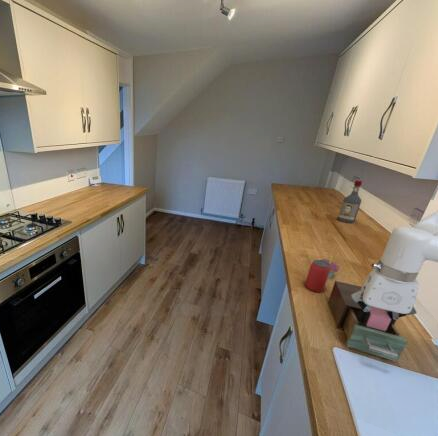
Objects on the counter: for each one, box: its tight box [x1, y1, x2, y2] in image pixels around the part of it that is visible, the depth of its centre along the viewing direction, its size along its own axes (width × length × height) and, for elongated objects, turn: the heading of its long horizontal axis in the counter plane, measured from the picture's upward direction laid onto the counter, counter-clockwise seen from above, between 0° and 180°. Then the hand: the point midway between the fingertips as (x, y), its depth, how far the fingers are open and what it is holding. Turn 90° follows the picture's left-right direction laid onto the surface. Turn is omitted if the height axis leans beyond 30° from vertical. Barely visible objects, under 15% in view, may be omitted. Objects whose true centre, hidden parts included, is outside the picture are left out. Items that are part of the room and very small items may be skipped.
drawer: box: [342, 308, 408, 362], centre depth 72 cm, size 18×11×8 cm, turn 154°
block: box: [365, 307, 391, 331], centre depth 70 cm, size 4×4×4 cm
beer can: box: [304, 259, 330, 293], centre depth 98 cm, size 7×7×12 cm
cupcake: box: [321, 253, 340, 279], centre depth 107 cm, size 9×8×12 cm
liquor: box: [337, 180, 363, 224], centre depth 171 cm, size 9×9×30 cm
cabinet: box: [327, 280, 397, 330], centre depth 82 cm, size 15×13×10 cm
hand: (373, 322), depth 71 cm, fingers closed on block, 4 cm apart
